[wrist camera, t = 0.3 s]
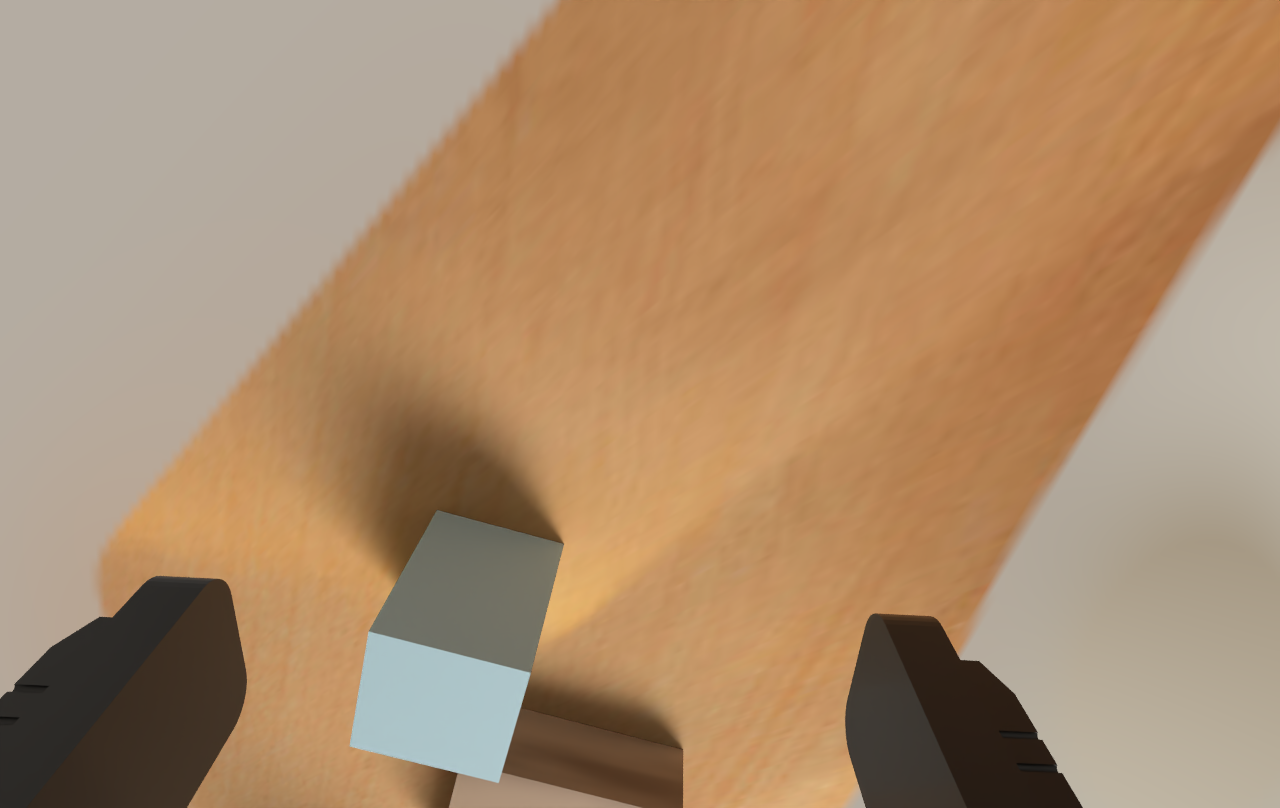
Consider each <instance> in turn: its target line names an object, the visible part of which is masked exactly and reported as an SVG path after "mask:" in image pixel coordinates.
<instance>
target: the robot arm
mask: <svg viewBox="0 0 1280 808" xmlns="http://www.w3.org/2000/svg"><path fill="white" fill-rule="evenodd" d="M246 685H247V675H246V668H245V663H244V658H243V652H242V647H241V642H240V637H239V632H238V626H237V621H236V616H235V611H234V606H233V600H232V595H231V591H230V589H229V586H228V585H227V583H226V582H225V581H223V580H221V579H210V578H190V577H170V576H156V577H153V578H151V579H149V580H148V581H146V582H145V583H144V584H143V585H142V586H141V587H140V588H139V590H138V591H137V592H136V593H135V594H134V595H133V596H132V597H131V598H130V599H129V600H128V601H127V602H126V604H125V605H124V606H123V607H122V608H121V609H120V610H119V611H118V612H117V613H116V614H115V615H114V616H113V618H111V617H99V618H97V619H96V620H94V621H92V622H91V623H89V624H88V625H86V626H84V627H83V628H81V629H79V630H78V631H76V632H75V633H73V634H71V635H70V636H68V637H67V638H65V639H63V640H62V641H60V642H59V643H57V644H55V645H54V646H52V647H51V648H50V649H49V650H48V651H47V652H46V653H45V654H44V655H43V656H42V657H41V658H40V659H39V660H38V661H37V662H36V663H35V664H34V665H33V666H32V667H31V668H30V669H29V670H28V671H27V672H26V673H25V674H24V675H23V676H22V677H21V678H20V679H19V680H18V681H17V682H16V683H15V688H14V690H13V691H12V692H7V693H5V694H4V695H3V696H2V697H1V699H0V808H187V806H188V805H189V803H190V801H191V800H192V798H193V796H194V795H195V793H196V791H197V790H198V788H199V786H200V785H201V783H202V781H203V780H204V778H205V776H206V774H207V773H208V771H209V769H210V768H211V766H212V764H213V763H214V761H215V759H216V758H217V756H218V754H219V753H220V751H221V749H222V748H223V746H224V744H225V742H226V741H227V739H228V737H229V736H230V734H231V732H232V731H233V729H234V727H235V725H236V723H237V721H238V719H239V716H240V714H241V711H242V707H243V704H244V699H245V694H246ZM845 726H846V739H847V746H848V750H849V755H850V758H851V761H852V765H853V768H854V771H855V774H856V778H857V781H858V784H859V787H860V790H861V793H862V797H863V800H864V803H865V807H866V808H1083V807H1082V806H1081V804H1080V802H1079V801H1078V799H1077V797H1076V796H1075V794H1074V792H1073V791H1072V789H1071V787H1070V786H1069V784H1068V782H1067V781H1066V779H1065V777H1064V775H1063V774H1062V773H1058V771H1057V764H1056V762H1055V760H1054V759H1053V757H1052V756H1051V754H1050V752H1049V750H1048V749H1047V747H1046V745H1045V744H1044V742H1043V740H1039V739H1038V737H1037V731H1036V729H1035V727H1034V726H1033V724H1032V722H1031V721H1030V719H1029V717H1028V715H1027V714H1026V712H1025V710H1024V709H1023V707H1022V705H1021V704H1020V702H1019V701H1018V699H1017V697H1016V695H1015V694H1014V693H1013V692H1012V691H1011V690H1010V689H1009V688H1008V687H1006V686H1005V685H1004V684H1003V683H1002V682H1001V681H1000V680H999V679H998V678H997V677H995V676H994V675H993V674H992V673H991V672H990V671H989V670H988V669H987V668H986V667H985V666H984V665H983V664H982V663H980V662H979V661H967V660H960V659H959V657H958V655H957V653H956V651H955V649H954V648H953V646H952V644H951V642H950V640H949V638H948V637H947V635H946V633H945V631H944V629H943V627H942V626H941V624H940V623H939V621H938V620H937V619H936V618H934V617H931V616H914V615H894V614H872V615H871V616H870V617H869V619H868V621H867V623H866V626H865V630H864V634H863V638H862V642H861V647H860V651H859V655H858V659H857V663H856V667H855V671H854V675H853V679H852V683H851V687H850V691H849V696H848V700H847V705H846V716H845Z"/></svg>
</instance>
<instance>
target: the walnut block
mask: <svg viewBox="0 0 1280 808" xmlns="http://www.w3.org/2000/svg"><path fill="white" fill-rule="evenodd" d="M449 808H683V750H682V749H678V748H674V747H670V746H666V745H663V744H659V743H655V742H651V741H647V740H643V739H639V738H635V737H632V736H628V735H624V734H620V733H616V732H612V731H608V730H604V729H601V728H597V727H593V726H589V725H585V724H581V723H577V722H573V721H570V720H566V719H562V718H558V717H554V716H550V715H546V714H542V713H538V712H535V711H531V710H527V709H523V708H520V712H519V715H518V718H517V722H516V725H515V729H514V732H513V736H512V739H511V742H510V746H509V749H508V753H507V756H506V760H505V763H504V766H503V770H502V773H501V777H500V780H499V783H496V782H492V781H488V780H484V779H480V778H476V777H472V776H468V775H464V774H460V773H458V775H457V778H456V782H455V786H454V790H453V794H452V797H451V801H450V805H449Z"/></svg>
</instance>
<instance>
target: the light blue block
mask: <svg viewBox="0 0 1280 808" xmlns="http://www.w3.org/2000/svg"><path fill="white" fill-rule="evenodd" d="M563 546H564V544H562V543H559V542H555V541H551V540H547V539H544V538H540V537H536V536H532V535H529V534H525V533H521V532H517V531H514V530H510V529H506V528H503V527H499V526H495V525H491V524H488V523H484V522H480V521H476V520H473V519H469V518H465V517H461V516H458V515H454V514H450V513H447V512H443V511H439V510H437V511H436V513H435V514H434V516H433V518H432V520H431V522H430V523H429V525H428V527H427V529H426V530H425V532H424V534H423V536H422V538H421V539H420V541H419V543H418V545H417V546H416V548H415V550H414V552H413V554H412V555H411V557H410V559H409V561H408V563H407V564H406V566H405V568H404V570H403V571H402V573H401V575H400V577H399V579H398V580H397V582H396V584H395V586H394V587H393V589H392V591H391V593H390V595H389V596H388V598H387V600H386V602H385V603H384V605H383V607H382V609H381V611H380V612H379V614H378V616H377V618H376V620H375V621H374V623H373V625H372V627H371V628H370V630H369V633H368V639H367V645H366V651H365V657H364V663H363V669H362V675H361V681H360V687H359V693H358V699H357V705H356V711H355V717H354V723H353V729H352V735H351V741H350V747H354V748H358V749H362V750H366V751H370V752H375V753H379V754H383V755H387V756H391V757H395V758H399V759H403V760H407V761H411V762H415V763H419V764H423V765H427V766H431V767H435V768H440V769H444V770H448V771H452V772H456V773H460V774H464V775H468V776H472V777H476V778H480V779H484V780H488V781H492V782H496V783H499V780H500V777H501V773H502V770H503V766H504V763H505V760H506V756H507V753H508V749H509V746H510V742H511V739H512V736H513V732H514V729H515V725H516V722H517V718H518V715H519V712H520V708H521V705H522V701H523V698H524V694H525V691H526V688H527V684H528V681H529V677H530V674H531V670H532V666H533V662H534V658H535V654H536V651H537V647H538V643H539V639H540V635H541V631H542V627H543V623H544V619H545V616H546V612H547V608H548V604H549V600H550V596H551V592H552V588H553V584H554V581H555V577H556V573H557V569H558V565H559V561H560V557H561V553H562V549H563Z"/></svg>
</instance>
